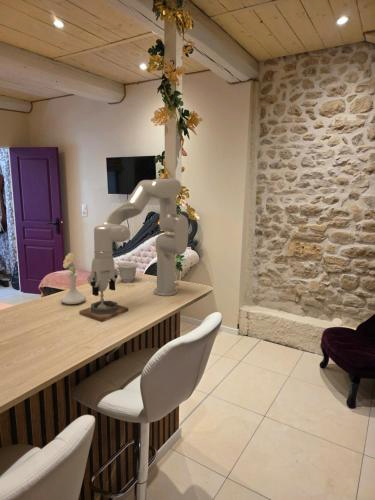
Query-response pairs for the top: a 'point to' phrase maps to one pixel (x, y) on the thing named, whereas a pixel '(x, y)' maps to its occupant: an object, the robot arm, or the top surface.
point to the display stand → (103, 311)
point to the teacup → (127, 271)
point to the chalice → (103, 287)
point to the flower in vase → (72, 284)
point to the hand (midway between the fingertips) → (104, 292)
